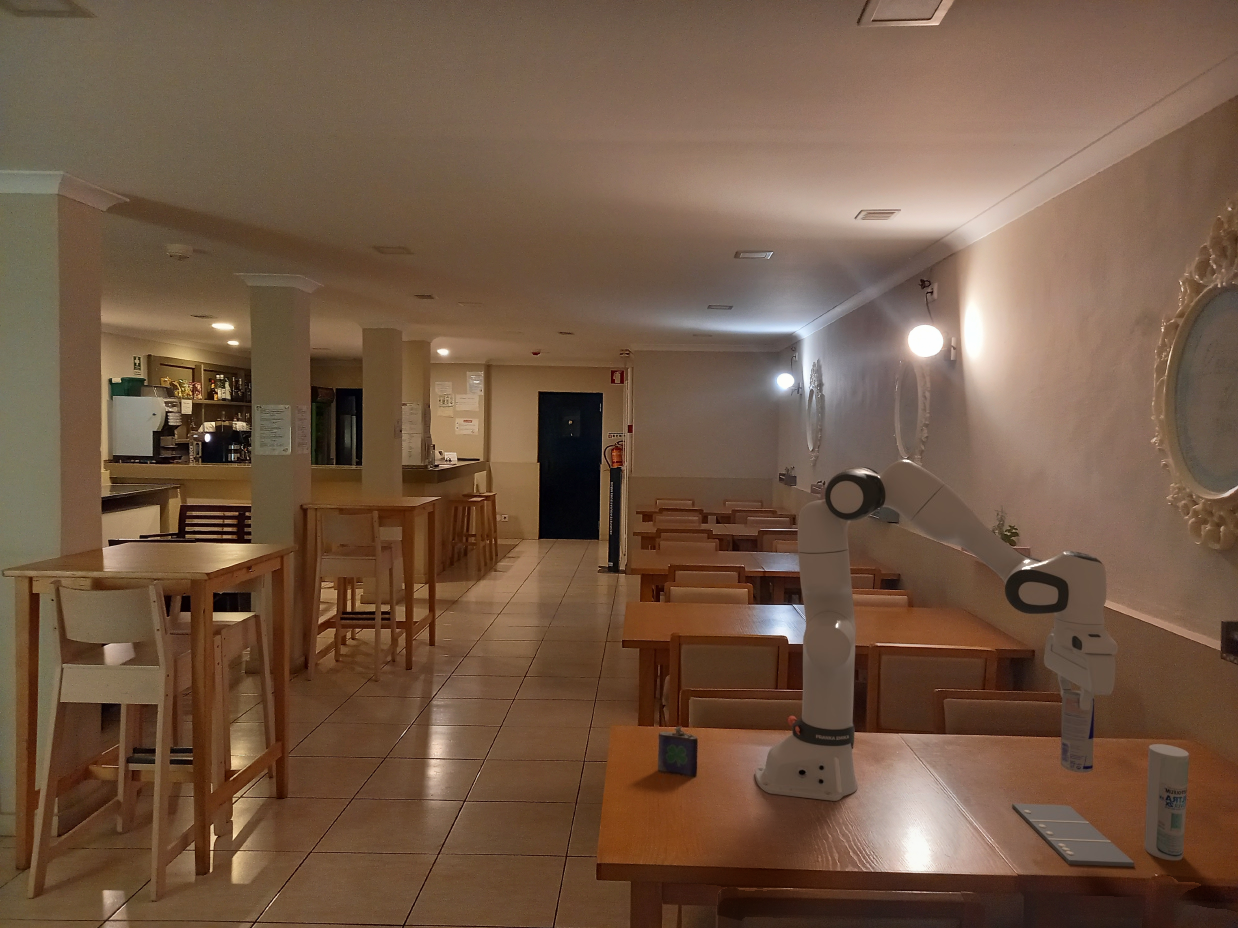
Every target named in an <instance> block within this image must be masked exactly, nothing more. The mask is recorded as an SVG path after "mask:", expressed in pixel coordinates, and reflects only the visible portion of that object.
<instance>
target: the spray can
mask: <svg viewBox="0 0 1238 928" xmlns="http://www.w3.org/2000/svg"><path fill="white" fill-rule="evenodd" d="M1147 762H1148V763H1147V786H1146V787H1147V788H1146V804H1145V805H1146V807H1145V830H1144V850H1145V851H1146V852H1147V853H1148V854H1149V855H1152V856H1154V857H1156V858H1159V859H1161V860H1166V861H1167V860H1168V861H1180V860H1182V859H1183V857H1184V845H1185V844H1184V842H1185V829H1186V814H1187V813H1186V812H1187V797H1188V781H1189V766H1190V753H1189V752H1188V751H1187V750H1185V749H1184V748H1180V747H1177V746H1174V745H1170V744H1163V743H1162V744H1161V743H1156V744H1155V743H1153V744H1150V745H1149V746H1148V761H1147Z"/></svg>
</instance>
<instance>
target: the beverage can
mask: <svg viewBox="0 0 1238 928" xmlns="http://www.w3.org/2000/svg"><path fill="white" fill-rule="evenodd" d="M1072 690H1073V689H1071V690H1066V691H1063V692H1062V693H1063V695H1062V697H1061V698H1062V699H1061V734H1060V735H1061V736H1060V765H1061V767H1062V768H1064V769H1066V770H1068V771H1071V772H1075V773H1083V774H1084V773H1085V774H1086V773H1090V772H1092V771H1093V769H1094V733H1095V732H1094V731H1095V699H1094V698H1095V695H1094V696H1093V698H1092V700H1091V701H1090V709H1089V710H1082V709H1081V708H1079V707H1078V700H1077V698H1078V699H1080V696H1081V693H1082V692H1080V690H1073V691H1072Z"/></svg>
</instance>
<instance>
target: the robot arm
mask: <svg viewBox="0 0 1238 928" xmlns="http://www.w3.org/2000/svg"><path fill="white" fill-rule="evenodd" d="M880 508H889V509H891V510H893V511H895V513H898V514H899V515H900V516H901V517H903V518H904V519H905V520H906V521H907V522H908V523H909V524H911V525H912V526H913V527H914V528H916V529H917V530H918V531H920V533H923V534H924V535H925V536H928V537H929V538H931V539H932V540H934V541H936V542H940V543H946V544H951V545H955V546H958V547H960V548H962V549H964V550H966V551H968V552H970V553H971V554H972V555H973V556H975V557H976V558H977V559H978V560H979V561H981V563H984V564H985V565H986V566H987V567H988V568H990V569H991V570H992V571H994V572H995V573H996V574H997V575H998V576H999V577H1000V578H1001V580H1002V581H1003V583H1004V594H1005V597H1006V600H1007V602H1008V603H1009V604H1010V605H1011V607H1013V608H1014V609H1015V610H1017V611H1018V612H1021V613H1022V614H1027V615H1043V614H1054V615H1053V619H1054V620H1053V627H1052V628H1051V629H1050V633H1049V634H1048V635H1047V637H1046V641H1045V646H1044V654H1043V655H1044V656H1043V663H1044V666H1045V667H1046V668H1047V669H1049V670H1051V671H1052V672H1054V673H1055V674H1057V679H1058V681H1057V682H1058V684H1059V686H1060V697H1061V698H1062V695H1063V693H1062V692H1063V691H1066V690H1072V691H1074V690H1073V689H1072V685H1071V683H1073V684H1075V685H1077V686H1078V687H1080V688H1079V689H1080V690H1079V691H1080V692H1082V693H1081V696H1080V699H1078V698H1077V700H1078V707H1079V708H1081V709H1082V710H1089V709H1090V701H1091V700H1092V698H1093V696H1094V697H1095V695H1097V696H1098V695H1101V696H1109V695H1111V694H1112V693H1113V690H1114V688H1115V681H1116V665H1117V664H1116V659H1115V655H1117V654H1118V651H1119V645H1118V643H1117V642H1116V640H1114V639H1113V637H1112V636H1111V635H1110V634H1109V632H1108V630H1106V629H1105V624H1106V620H1105V616H1104V608H1105V605H1106V602H1107V572H1106V568H1105V565H1104V563H1102V561H1101V560H1100V559H1098V558H1097V557H1096V556H1093V555H1090V554H1087V553H1085V552H1084V553H1083V552H1079V551H1072V550H1065V551H1061V552H1060V553H1059V554H1057V555H1056V556H1053V557H1051V558H1049V559H1045V560H1042V559H1039V558H1035V557H1032V556H1028V555H1026V554H1024V553H1021V552H1020V551H1018V550H1017V549H1015V548H1014V547H1013V546H1012V545H1010V544H1009V543H1008V542H1006V541H1005V540H1004V539H1003V538H1001V537H1000V536H998V535H997V534H996V533H995V532H994V531H992V530H991V529H989V528H988V527H987V526H986V525H985V523H983V522H982V521H981V520H980V518H979V517H978V516H977V515H976V514H975V512H974V511H973V510H972V508H971V507H970V506H969V504H967V503H966V501H965V500H964V499H963V498H962V497H961V496H960V495H959V494H958V493H957V492H956V491H955V490H954V489H953V488H952V487H951V486H950V485H948V484H947V483H945V482H944V481H943V480H941V479H940V478H939V477H938V476H936V475H935V474H934V473H932V472H931V471H929V470H927V469H925V467H923V466H921V465H919V464H917V463H915V462H914V461H912V460H908V459H900V460H897V461H894V462H892V463H891V464H889V466H887V467H886V468H885V469H884V470H883V471H881V472H880V473H879V472H877V471H876V470H874V469H872V468H870V467H864V466H858V467H856V466H855V467H850V468H847V469H844V470H843V471H840V472H839V473H836V475H834V476H833V477H831V479H830V480H829V482H827V485H826V487H825V491H824V499H818V500H814V501H813V500H812V501H810V502H808V503H806V504H805V505H803V506H802V507H801V509H800V511H799V515H798V522H797V553H798V555H797V557H798V565H799V567H798V568H799V577H800V579H799V580H800V588H801V595H802V599H803V608H804V615H805V617H804V618H805V629H804V633H803V637H802V702H801V703H802V704H801V705H802V707H801V709H802V710H801V717H800V718H798V719H797V718H796V716H794V715H790V716H789V717H788V718H787V722H788V724H789V726H790V727H791V728H792V732H791V733H792V734H790V735H788V736H787V737H785V738H784V739H782V740H781V741H779V742H777V743H776V744H775V745H773V746H771V748H770V749H769V750H768V753H767V756H766V761H765V764H762V765H759V766H758V767H757V768H756V769H755V776H754V777H755V778H754V779H755V781H756V783H757V785H758V786H759V788H761V789H762V790H763V791H764V792H766V793H768V794H771V795H780V796H788V797H797V798H798V797H799V798H806V799H807V798H808V799H815V800H823V801H833V802H836V801H837V802H838V801H839V800H840V799H842V798H843V797H844V796H849V795H851V794H852V793H854V792H856V791H857V789H858V787H859V786H858V782H857V779H856V773H855V768H854V767H855V766H854V758H853V757H854V756H853V750H854V744H855V731H856V730H855V724H854V722H853V716H854V715H853V712H854V711H853V710H854V692H855V691H854V689H855V688H854V685H855V661H856V638H857V627H856V618H855V606H854V598H853V597H854V596H853V587H852V586H853V585H852V577H851V576H852V575H851V573H852V572H851V564H850V561H851V560H850V552H849V551H850V548H849V540H848V538H849V537H848V530H849V529H848V528H849V526H850V524H851V522H853V521H854V522H855V521H858V520H859V521H860V520H861V519H865V518H867V517H869V516H871V515H873V514H874V513H875V512H876V511H877V510H880Z"/></svg>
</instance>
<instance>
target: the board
mask: <svg viewBox="0 0 1238 928" xmlns="http://www.w3.org/2000/svg"><path fill="white" fill-rule="evenodd" d="M1011 807H1012V808H1013V810H1014V811H1015V812H1016V813H1017V814H1018V815H1019V816H1020V817H1021V818H1022V819H1023V820H1024V821H1025V822H1026V823H1028V824H1029V826H1030V827H1031V828H1032V829H1033V830H1034V831H1036V833H1037V834H1038V835H1039V836H1040V837H1041V838H1042V839H1043V840H1044V841H1045V842H1046V843H1047V844H1048V846H1050V847H1051V848H1052V849H1053V850H1054V851H1055V852H1056V853H1057V854H1058V855H1059V856H1060V857H1061V858H1062V859H1063V860H1064V861H1065V862H1066V863H1067V864H1068V865H1080V866H1081V865H1082V866H1110V867H1131V868H1132V867H1133V868H1134V867H1135V861H1134V860H1132V859H1131V858H1130V857H1129V856H1128V855H1126V854H1125V853H1124V852H1123V851H1122V850H1121V849H1120V848H1119V847H1117V845H1116V844H1114V843H1113V842H1112V841H1111V840H1110V839H1108V838H1107V837H1106V836H1105V835H1104V834H1102V833H1101V831H1099V830H1098V829H1097V828H1095V827H1094V826H1093V825H1092V824H1091V823H1090V821H1088V820H1086V819H1085V818H1084V816H1082V815H1081V814H1079V813H1078V812H1077V810H1076V809H1074V808H1073V807H1071V806H1070V805H1064V804H1063V805H1062V804H1035V803H1033V804H1032V803H1012V805H1011Z"/></svg>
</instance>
